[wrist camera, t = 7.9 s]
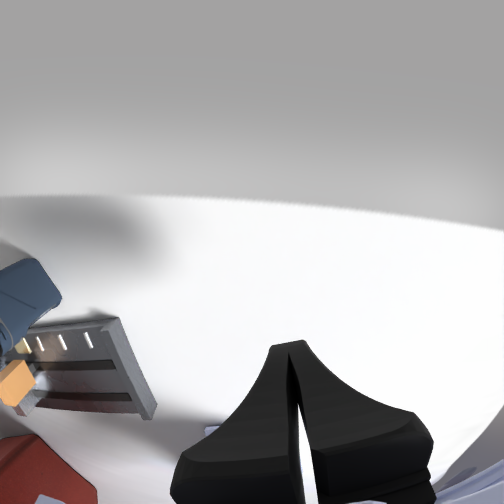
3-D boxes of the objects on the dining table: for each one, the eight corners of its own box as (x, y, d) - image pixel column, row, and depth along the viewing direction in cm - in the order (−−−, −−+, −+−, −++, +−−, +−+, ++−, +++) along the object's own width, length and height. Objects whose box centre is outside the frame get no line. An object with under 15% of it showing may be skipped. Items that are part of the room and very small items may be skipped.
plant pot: (60, 498, 34) (31, 561, 17) (-16, 424, 30) (-64, 484, 13) (128, 500, 31) (100, 589, 15) (30, 411, 27) (-35, 502, 11)
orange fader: (40, 377, 23) (15, 406, 19) (29, 377, 23) (4, 404, 19) (28, 355, 23) (0, 382, 18) (18, 355, 23) (-10, 381, 18)
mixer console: (157, 404, 25) (145, 435, 21) (27, 398, 26) (10, 418, 22) (118, 317, 22) (97, 343, 19) (-9, 331, 24) (-30, 348, 20)
